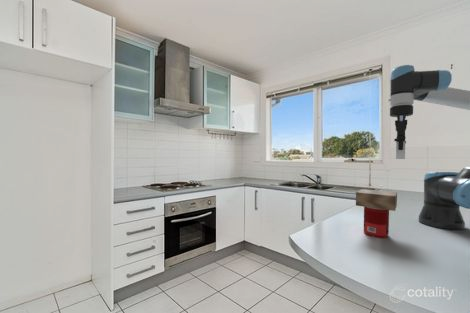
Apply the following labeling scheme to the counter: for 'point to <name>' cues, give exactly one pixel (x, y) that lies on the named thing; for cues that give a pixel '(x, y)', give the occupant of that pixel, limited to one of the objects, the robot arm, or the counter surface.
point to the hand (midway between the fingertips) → (400, 159)
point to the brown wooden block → (376, 199)
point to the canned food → (376, 222)
